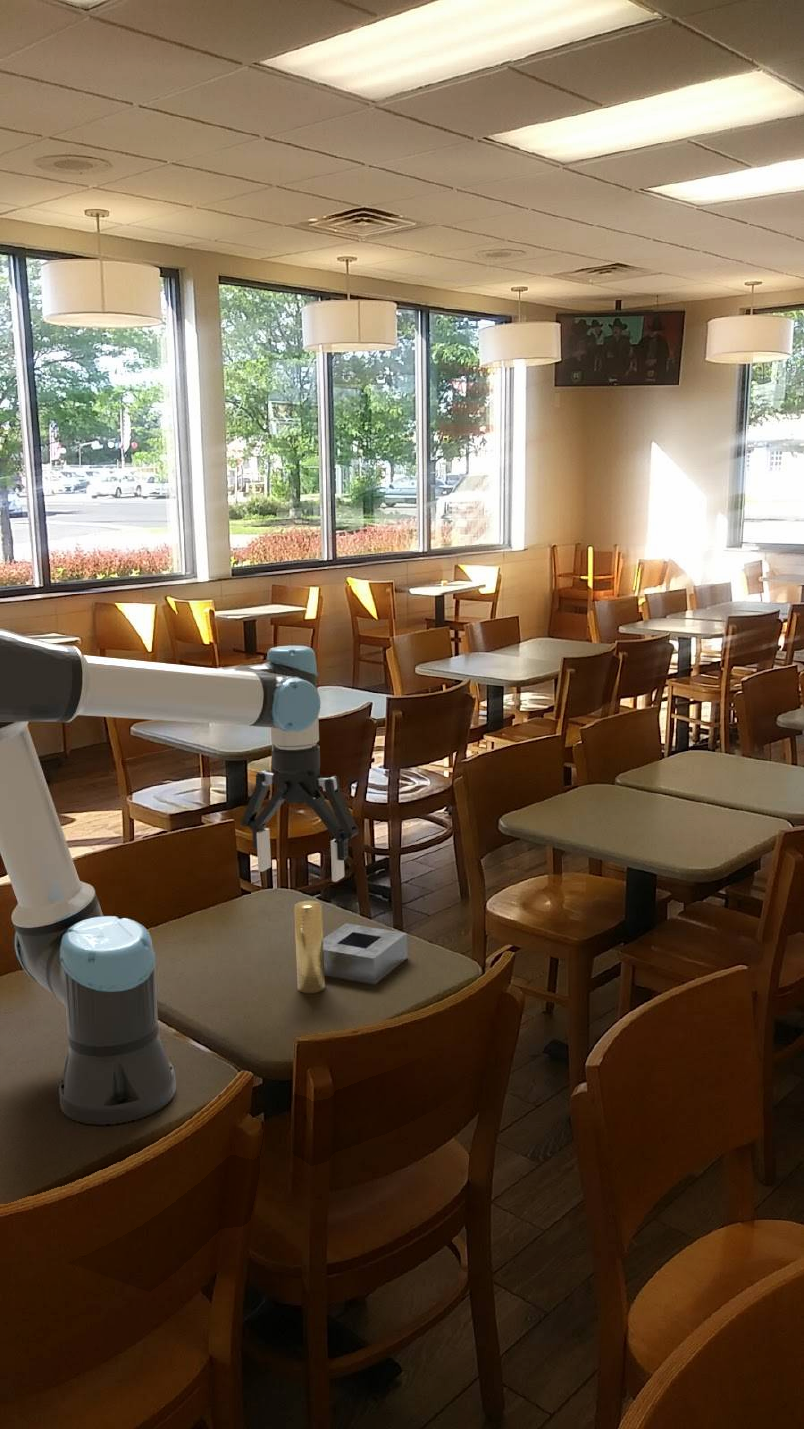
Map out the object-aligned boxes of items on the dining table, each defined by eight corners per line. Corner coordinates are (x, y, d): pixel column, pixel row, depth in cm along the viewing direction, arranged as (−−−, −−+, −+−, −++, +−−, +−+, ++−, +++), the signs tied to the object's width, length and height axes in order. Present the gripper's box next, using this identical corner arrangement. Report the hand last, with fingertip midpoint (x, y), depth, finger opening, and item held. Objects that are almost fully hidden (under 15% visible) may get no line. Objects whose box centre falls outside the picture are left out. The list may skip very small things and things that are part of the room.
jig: (374, 984, 187) (373, 958, 186) (311, 972, 192) (310, 947, 191) (407, 957, 197) (406, 933, 196) (346, 947, 202) (345, 923, 202)
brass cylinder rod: (316, 994, 183) (312, 911, 181) (292, 990, 185) (288, 908, 183) (329, 984, 187) (326, 902, 185) (306, 979, 189) (303, 899, 187)
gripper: (377, 745, 178) (381, 875, 182) (241, 734, 189) (247, 858, 192) (354, 755, 171) (359, 890, 175) (215, 743, 182) (222, 871, 186)
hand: (300, 874), depth 184 cm, fingers open, 13 cm apart
